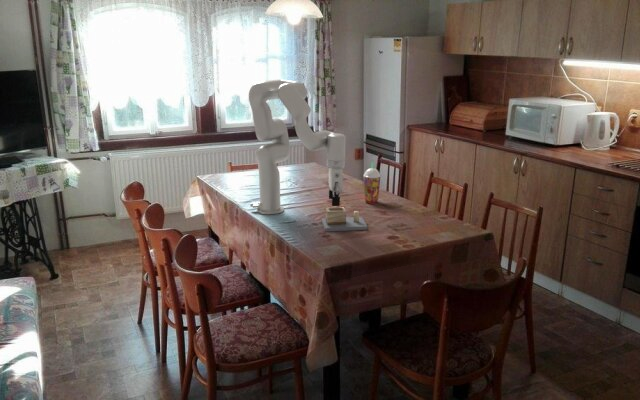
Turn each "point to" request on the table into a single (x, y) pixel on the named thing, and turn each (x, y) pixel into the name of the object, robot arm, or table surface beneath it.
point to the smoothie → (371, 185)
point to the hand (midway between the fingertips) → (334, 202)
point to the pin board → (347, 224)
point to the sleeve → (335, 215)
